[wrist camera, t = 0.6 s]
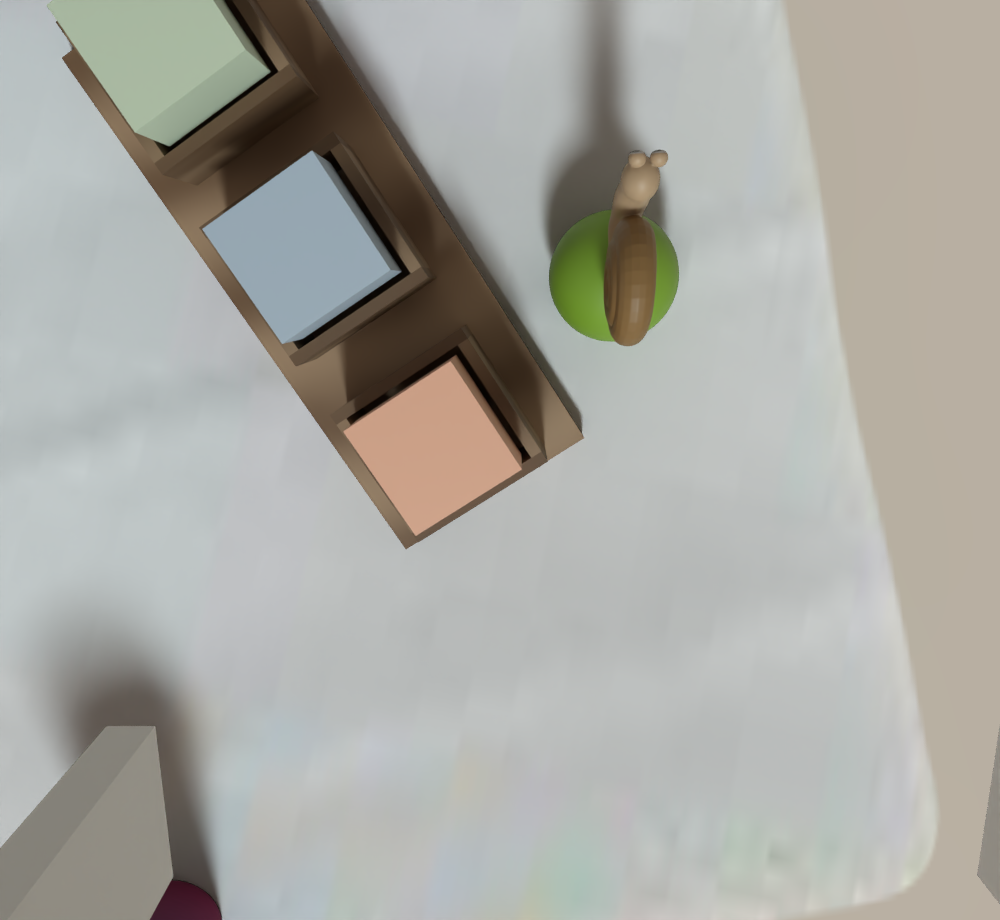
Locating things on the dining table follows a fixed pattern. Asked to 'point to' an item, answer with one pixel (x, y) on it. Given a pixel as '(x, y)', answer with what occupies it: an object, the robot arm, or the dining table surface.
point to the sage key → (163, 58)
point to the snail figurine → (617, 262)
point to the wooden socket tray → (394, 216)
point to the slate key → (302, 248)
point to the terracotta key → (435, 445)
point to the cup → (185, 904)
